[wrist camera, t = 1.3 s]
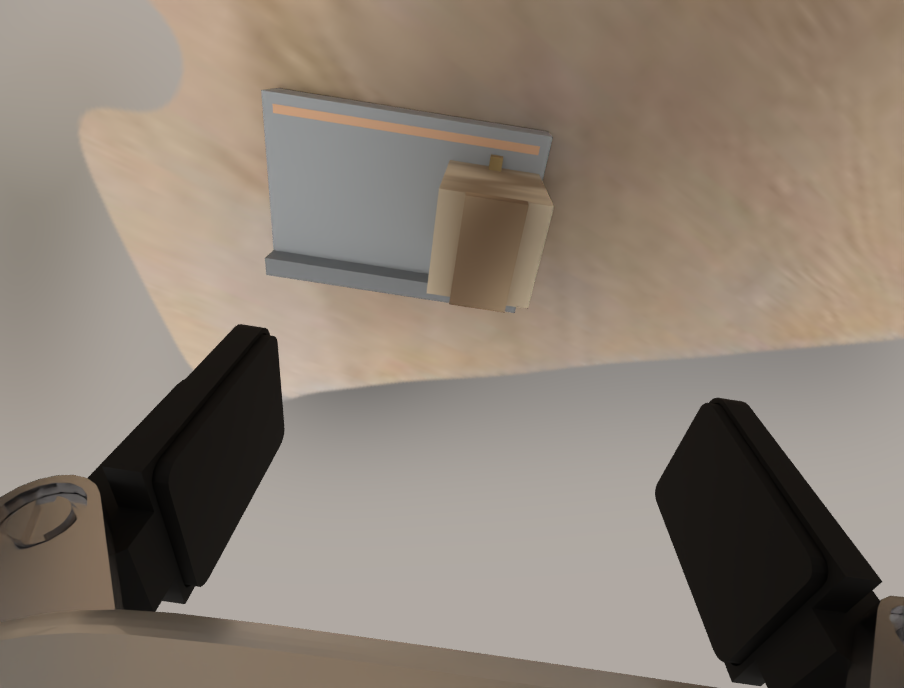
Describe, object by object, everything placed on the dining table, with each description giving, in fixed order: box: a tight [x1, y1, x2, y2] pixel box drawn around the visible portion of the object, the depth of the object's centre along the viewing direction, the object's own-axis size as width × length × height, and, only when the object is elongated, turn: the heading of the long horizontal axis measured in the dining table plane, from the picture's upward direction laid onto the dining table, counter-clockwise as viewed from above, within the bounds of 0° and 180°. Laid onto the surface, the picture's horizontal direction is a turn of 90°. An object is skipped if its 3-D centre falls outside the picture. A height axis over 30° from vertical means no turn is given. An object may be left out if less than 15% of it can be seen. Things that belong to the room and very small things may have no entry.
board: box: [261, 88, 553, 313], centre depth 24 cm, size 14×9×3 cm, turn 82°
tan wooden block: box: [427, 154, 554, 313], centre depth 21 cm, size 4×5×7 cm
